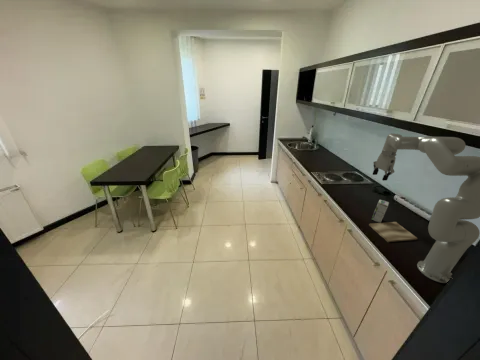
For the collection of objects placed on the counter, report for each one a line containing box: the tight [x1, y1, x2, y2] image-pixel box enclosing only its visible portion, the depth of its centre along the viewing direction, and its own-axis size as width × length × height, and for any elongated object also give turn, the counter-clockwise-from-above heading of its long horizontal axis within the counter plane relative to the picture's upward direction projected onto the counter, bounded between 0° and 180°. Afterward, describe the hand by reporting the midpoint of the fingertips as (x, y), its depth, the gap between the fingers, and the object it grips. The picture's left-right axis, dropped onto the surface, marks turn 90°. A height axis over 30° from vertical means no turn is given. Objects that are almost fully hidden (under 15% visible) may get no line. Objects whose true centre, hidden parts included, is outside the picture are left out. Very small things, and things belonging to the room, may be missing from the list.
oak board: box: [368, 221, 418, 243], centre depth 127 cm, size 16×20×1 cm
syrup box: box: [371, 199, 390, 223], centre depth 135 cm, size 6×6×14 cm
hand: (379, 177), depth 135 cm, fingers open, 8 cm apart
